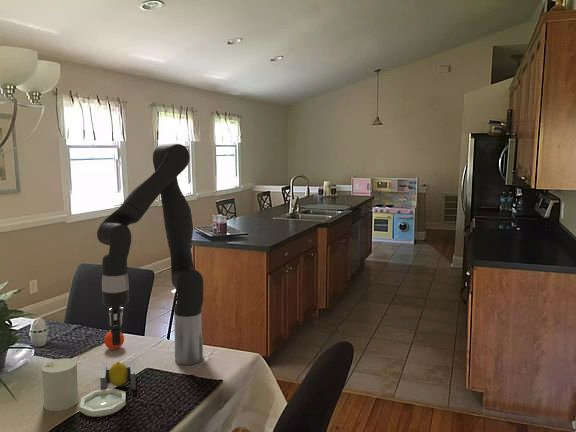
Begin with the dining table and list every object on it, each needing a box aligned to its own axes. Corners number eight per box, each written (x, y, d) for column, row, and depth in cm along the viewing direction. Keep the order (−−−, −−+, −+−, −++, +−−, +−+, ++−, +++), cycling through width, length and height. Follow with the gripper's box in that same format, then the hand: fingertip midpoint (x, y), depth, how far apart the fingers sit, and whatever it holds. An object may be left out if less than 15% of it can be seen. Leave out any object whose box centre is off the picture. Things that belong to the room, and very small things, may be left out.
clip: (135, 373, 154) (134, 359, 153) (135, 388, 144) (135, 373, 144) (102, 377, 151) (101, 363, 150) (100, 393, 141) (100, 378, 140)
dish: (125, 391, 142) (125, 386, 142) (125, 412, 131) (125, 406, 131) (82, 397, 138) (82, 392, 138) (78, 419, 127) (78, 413, 127)
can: (51, 395, 140) (49, 356, 138) (83, 394, 140) (81, 356, 139) (37, 412, 131) (35, 371, 129) (72, 411, 131) (70, 370, 130)
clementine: (100, 347, 174) (99, 328, 173) (118, 342, 179) (118, 324, 178) (109, 354, 168) (108, 335, 168) (127, 349, 173) (127, 330, 172)
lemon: (121, 392, 142) (121, 367, 141) (105, 390, 143) (104, 365, 142) (131, 383, 147) (130, 359, 146) (115, 381, 149) (114, 357, 148)
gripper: (128, 293, 136) (129, 347, 138) (128, 281, 149) (129, 330, 151) (100, 295, 133) (102, 350, 135) (103, 282, 147) (104, 332, 149)
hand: (116, 339), depth 143 cm, fingers open, 8 cm apart
